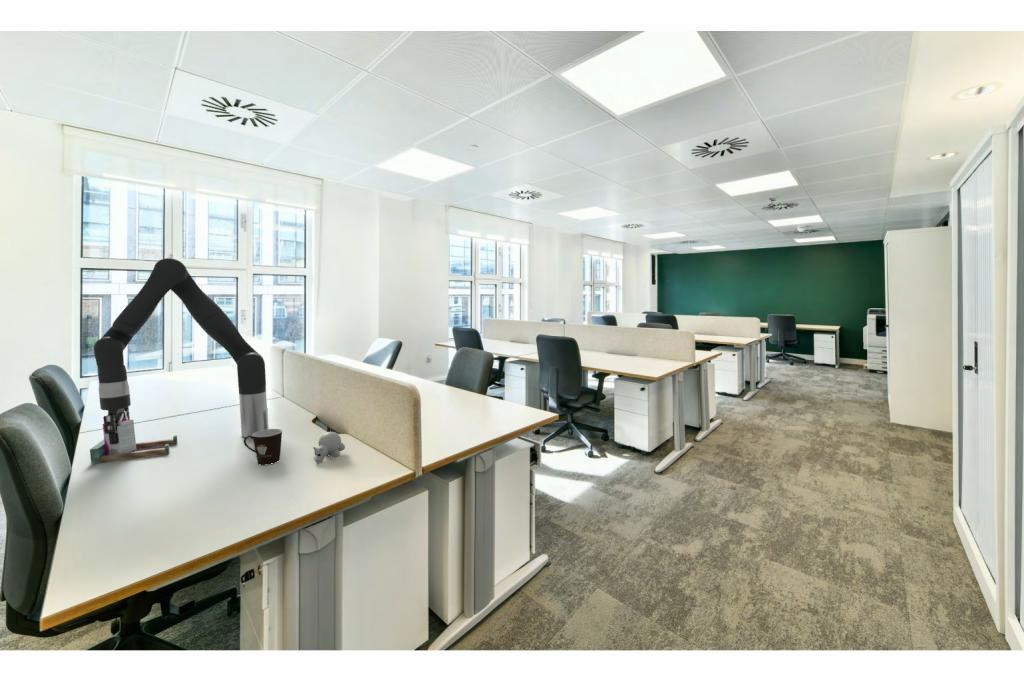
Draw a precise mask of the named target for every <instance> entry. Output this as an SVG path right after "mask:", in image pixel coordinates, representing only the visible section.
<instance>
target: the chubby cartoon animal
mask: <svg viewBox="0 0 1024 683" xmlns="http://www.w3.org/2000/svg"><path fill="white" fill-rule="evenodd" d="M345 448H346V445H345V444H344V443H343V442H342V437H341V436H340V434H338V432H335V431H327V432H325V433H323V434H322V435H321V436H320V438H319V440H318V446H316V447H315V446H314V447H312V449H313V450H314V452H313V453H314V456H313V461H314V462H315V463H316V464H320V463H319V462H321V463H322V462H324V460H325V457H329V456H328V455H330V456H332V457H333V458H336V457H335V456H337V457H339V456H340V455H341V452H342V451H344V450H345Z"/></svg>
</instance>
